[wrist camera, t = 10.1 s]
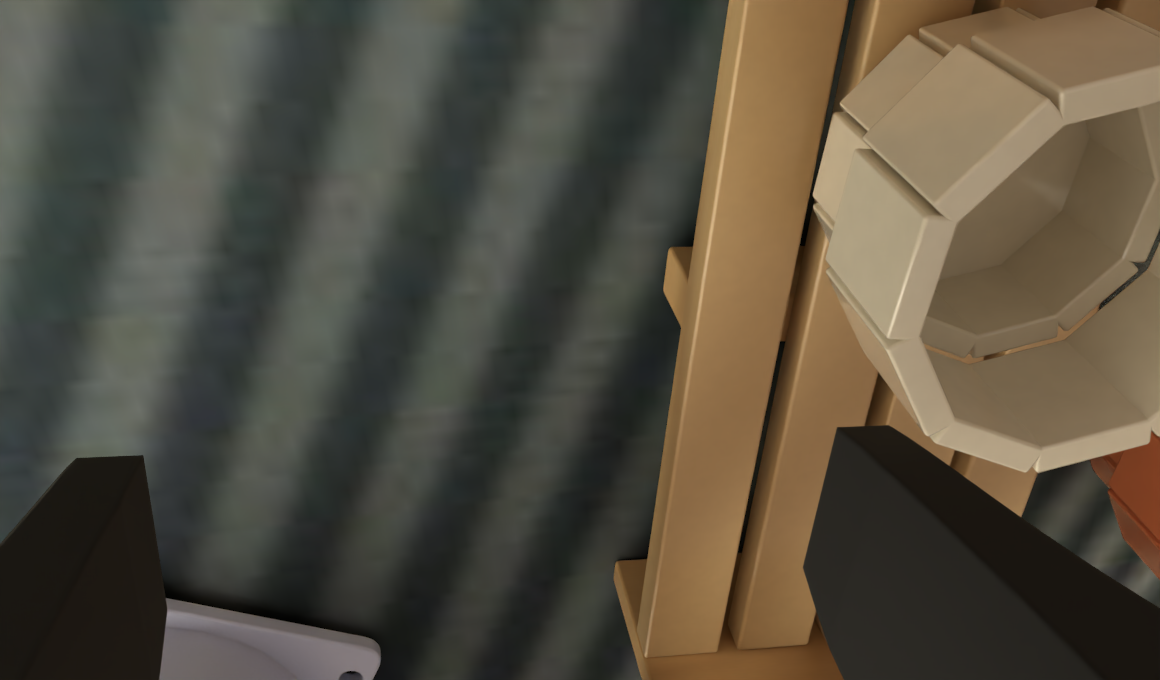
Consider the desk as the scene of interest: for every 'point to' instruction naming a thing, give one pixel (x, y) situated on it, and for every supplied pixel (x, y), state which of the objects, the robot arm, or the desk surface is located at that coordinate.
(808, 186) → the bowl rack
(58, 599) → the robot arm
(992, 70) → the cream bowl
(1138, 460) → the terracotta bowl
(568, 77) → the desk surface
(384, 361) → the desk surface
